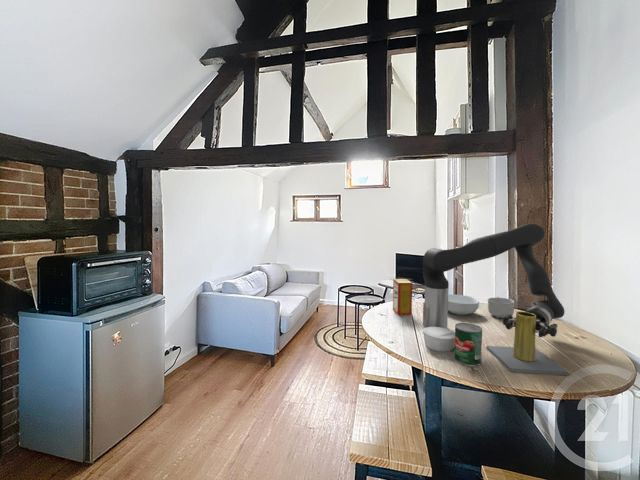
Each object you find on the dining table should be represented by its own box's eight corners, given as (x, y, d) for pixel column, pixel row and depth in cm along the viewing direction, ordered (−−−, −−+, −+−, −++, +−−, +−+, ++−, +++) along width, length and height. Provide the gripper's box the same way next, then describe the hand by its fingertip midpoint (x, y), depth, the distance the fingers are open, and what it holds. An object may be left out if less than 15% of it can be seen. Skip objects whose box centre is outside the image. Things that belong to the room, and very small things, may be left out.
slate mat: (510, 371, 87) (510, 368, 87) (486, 348, 103) (486, 345, 103) (568, 375, 85) (569, 371, 85) (535, 351, 101) (535, 348, 101)
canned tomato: (452, 362, 93) (453, 328, 92) (455, 352, 100) (456, 321, 99) (480, 368, 89) (481, 333, 88) (481, 358, 95) (483, 325, 95)
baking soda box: (411, 315, 140) (412, 282, 139) (397, 315, 140) (398, 282, 139) (405, 309, 149) (406, 278, 148) (392, 309, 149) (393, 278, 148)
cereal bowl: (437, 313, 142) (437, 299, 141) (444, 305, 156) (444, 292, 155) (476, 320, 132) (476, 305, 132) (480, 311, 146) (481, 297, 145)
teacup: (514, 321, 131) (514, 304, 130) (486, 317, 137) (487, 300, 136) (513, 313, 143) (513, 297, 142) (487, 309, 149) (488, 294, 148)
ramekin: (454, 356, 97) (455, 340, 97) (419, 349, 103) (420, 334, 102) (457, 344, 107) (457, 329, 107) (425, 338, 112) (425, 324, 112)
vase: (539, 362, 90) (542, 317, 90) (517, 360, 92) (519, 316, 91) (529, 354, 96) (531, 311, 96) (509, 352, 98) (511, 310, 97)
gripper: (513, 304, 108) (498, 313, 97) (562, 313, 97) (552, 324, 87) (512, 324, 108) (497, 335, 98) (561, 335, 98) (551, 349, 87)
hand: (523, 330), depth 92 cm, fingers open, 8 cm apart
